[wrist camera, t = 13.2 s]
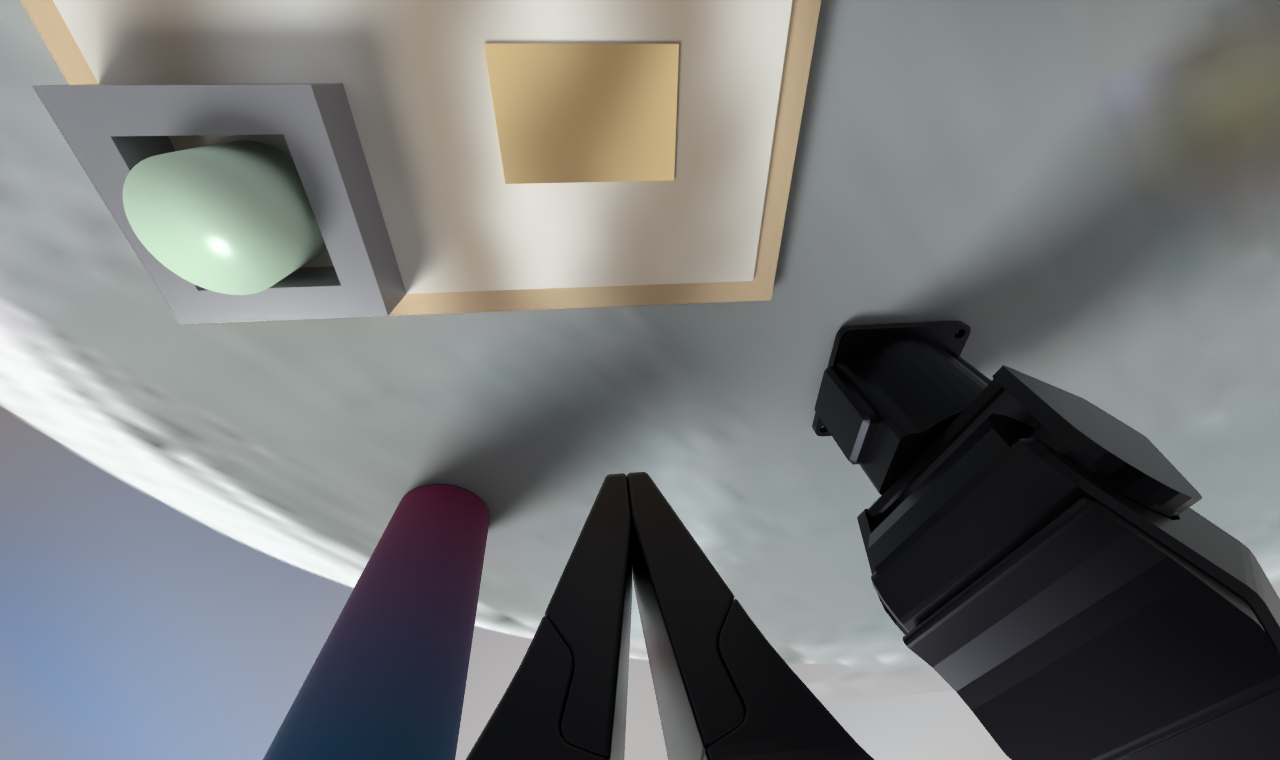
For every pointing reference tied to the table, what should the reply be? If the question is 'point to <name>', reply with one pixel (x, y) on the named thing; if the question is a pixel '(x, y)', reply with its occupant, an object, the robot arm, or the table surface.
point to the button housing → (304, 112)
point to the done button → (223, 215)
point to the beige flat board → (515, 129)
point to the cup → (398, 642)
